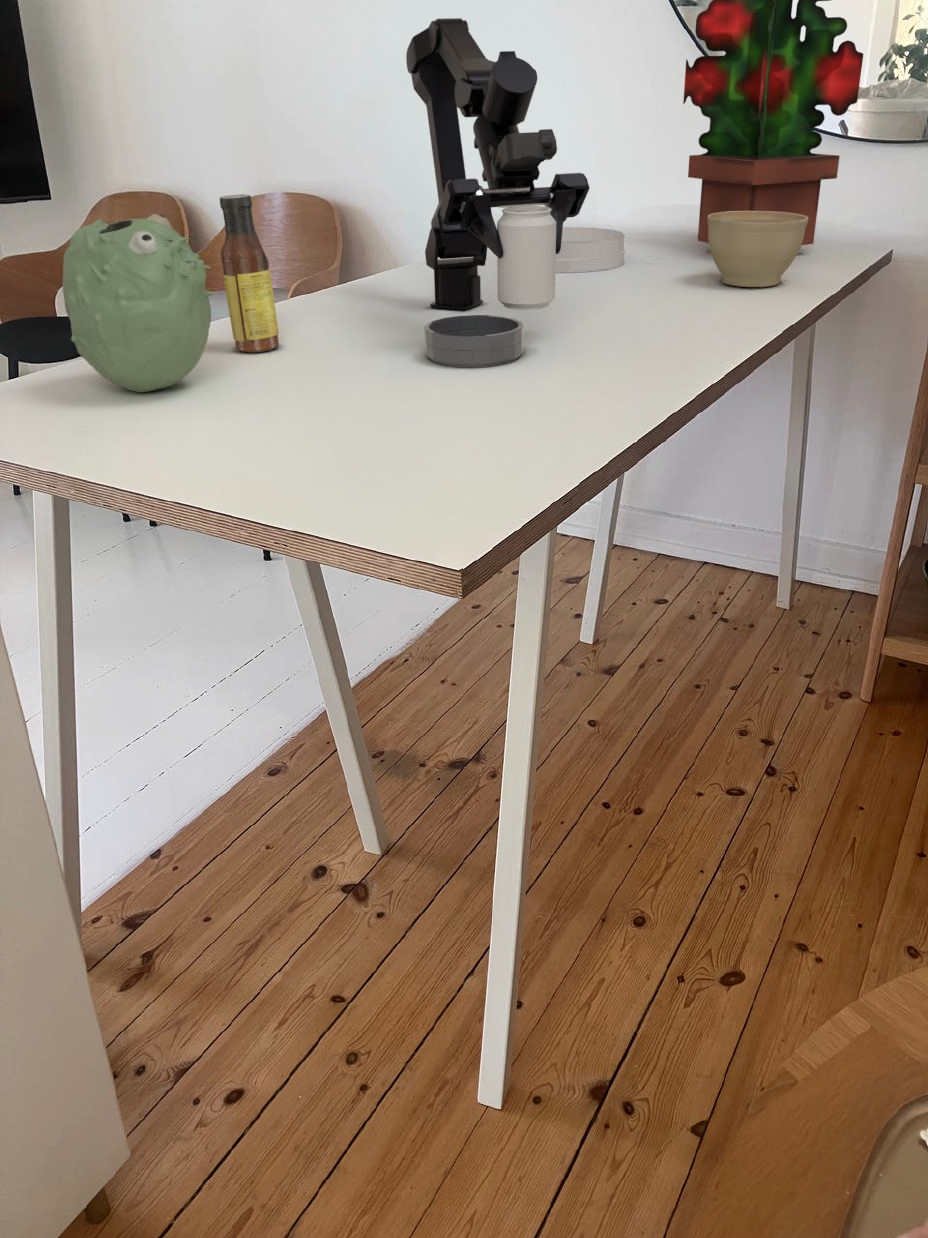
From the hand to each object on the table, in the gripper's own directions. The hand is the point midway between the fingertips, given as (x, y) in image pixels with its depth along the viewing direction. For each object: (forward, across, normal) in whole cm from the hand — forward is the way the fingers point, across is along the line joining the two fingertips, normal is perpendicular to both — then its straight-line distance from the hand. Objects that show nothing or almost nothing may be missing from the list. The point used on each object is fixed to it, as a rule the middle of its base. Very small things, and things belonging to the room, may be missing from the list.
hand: (529, 253), depth 134 cm
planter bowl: (-14, +52, +32) cm, 62 cm away
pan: (+8, -7, +10) cm, 15 cm away
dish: (-37, +31, +56) cm, 74 cm away
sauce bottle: (-3, -34, +22) cm, 40 cm away
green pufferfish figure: (+8, -49, +10) cm, 50 cm away
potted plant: (-33, +68, +53) cm, 93 cm away
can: (+4, 0, +6) cm, 7 cm away
